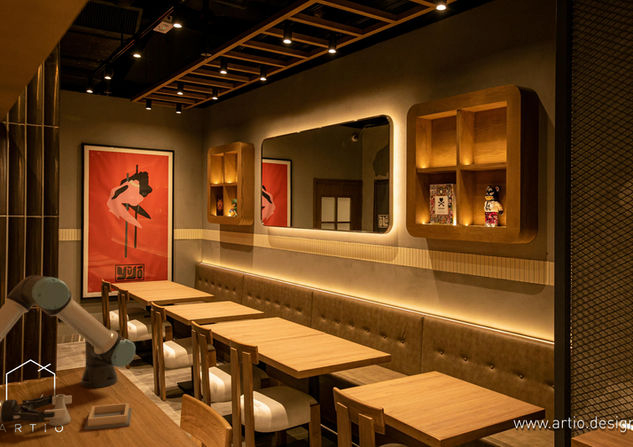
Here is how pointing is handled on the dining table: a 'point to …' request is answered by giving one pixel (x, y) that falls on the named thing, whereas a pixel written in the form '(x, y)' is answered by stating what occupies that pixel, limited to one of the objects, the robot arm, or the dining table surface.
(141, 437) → the dining table surface
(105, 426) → the holder
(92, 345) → the robot arm
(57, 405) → the flask
